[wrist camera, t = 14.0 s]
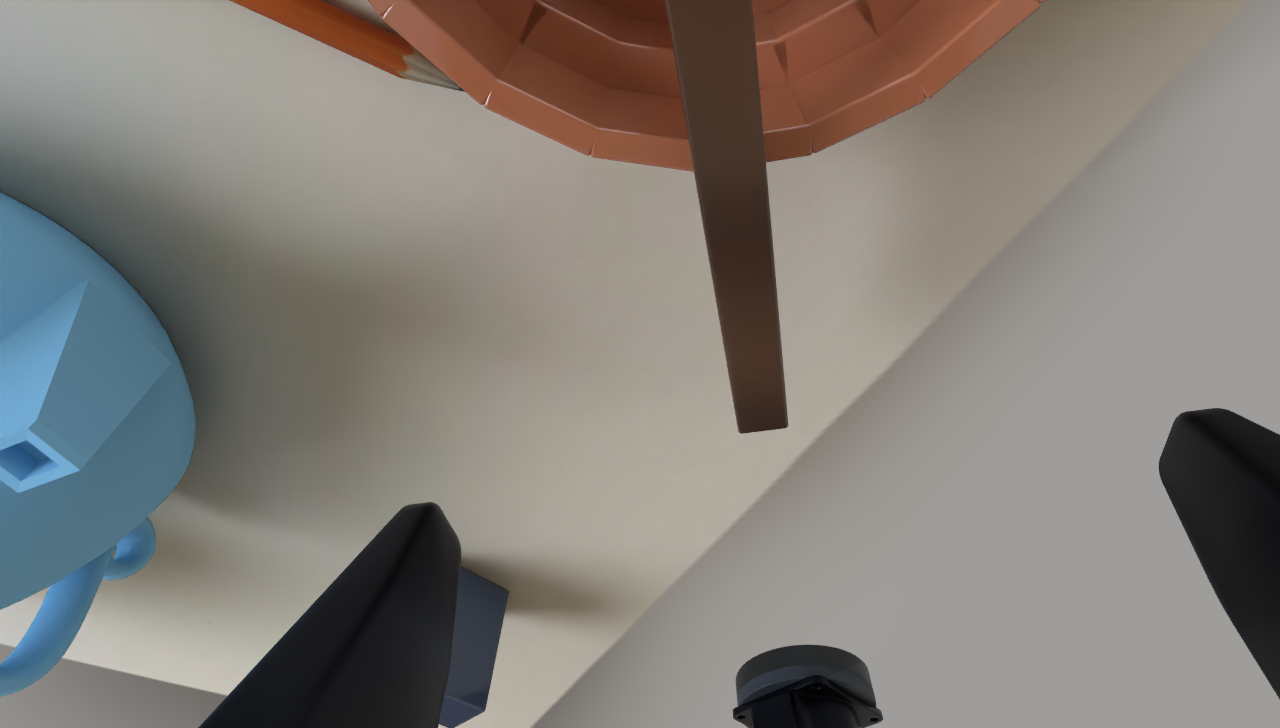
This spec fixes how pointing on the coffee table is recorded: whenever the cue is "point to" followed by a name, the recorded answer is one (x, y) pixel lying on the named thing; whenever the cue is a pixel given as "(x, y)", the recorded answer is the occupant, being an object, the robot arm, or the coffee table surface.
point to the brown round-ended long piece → (733, 196)
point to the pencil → (353, 37)
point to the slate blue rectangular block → (473, 648)
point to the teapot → (77, 431)
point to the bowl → (647, 76)
